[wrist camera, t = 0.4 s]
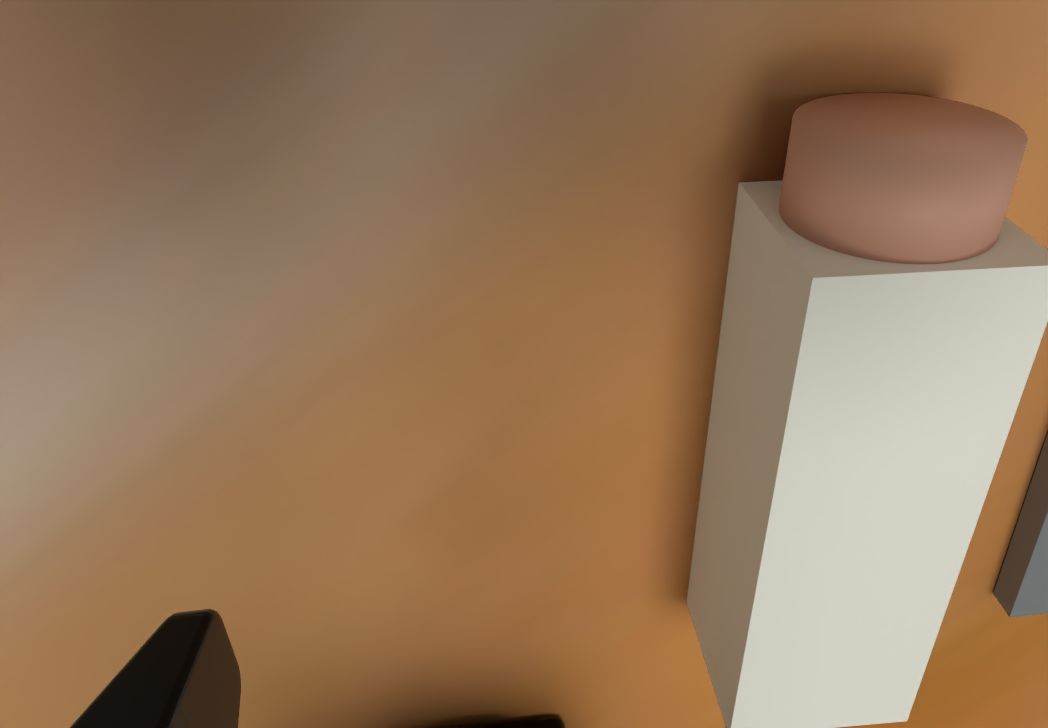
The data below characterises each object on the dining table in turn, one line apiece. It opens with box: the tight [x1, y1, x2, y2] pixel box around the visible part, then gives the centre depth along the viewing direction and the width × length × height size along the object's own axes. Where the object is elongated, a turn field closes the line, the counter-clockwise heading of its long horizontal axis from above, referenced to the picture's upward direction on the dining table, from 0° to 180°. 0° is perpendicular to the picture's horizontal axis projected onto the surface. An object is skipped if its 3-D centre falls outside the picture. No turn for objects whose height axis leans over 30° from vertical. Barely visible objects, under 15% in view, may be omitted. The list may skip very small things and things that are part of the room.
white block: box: [687, 93, 1048, 728], centre depth 22 cm, size 16×5×5 cm, turn 1°
